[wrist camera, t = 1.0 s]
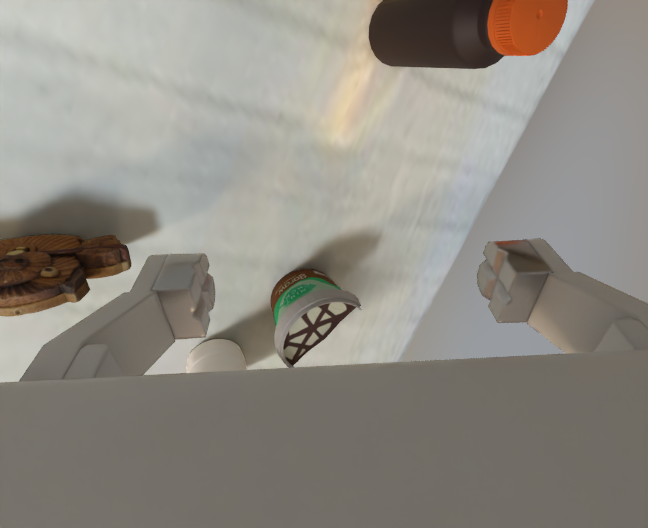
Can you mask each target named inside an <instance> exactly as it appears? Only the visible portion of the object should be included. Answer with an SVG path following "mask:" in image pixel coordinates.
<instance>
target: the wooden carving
mask: <svg viewBox="0 0 648 528" xmlns="http://www.w3.org/2000/svg"><path fill="white" fill-rule="evenodd" d="M130 267H131V260H130V255H129V251H128V248H127V246H126V245H123V244H121V243H120V241H119V240H117V238H116V236H115V235H107V236H101V237H97V238H93V239H89V240H86V241H84V240H83V239H82V238H80V237H78V236H72V235H55V234H52V235H48V234H46V235H37V236H34V235H32V236H24V237H20V238H13V239H5V240H0V316H18V315H23V314H29V313H35V312H39V311H43V310H46V309H49V308H52V307H55V306H58V305H61V304H63V303H66V302H73V303H74V302H78V301H80V300H81V299H82V298H83V297H84V296H85V295H86V294H87V293H88V292H89V290H90V287H89V286H88V283H87V280H86V279H93V278H102V277H107V276H113V275H116V274H119V273H121V272H123V271H126V270H128V269H130Z"/></svg>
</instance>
